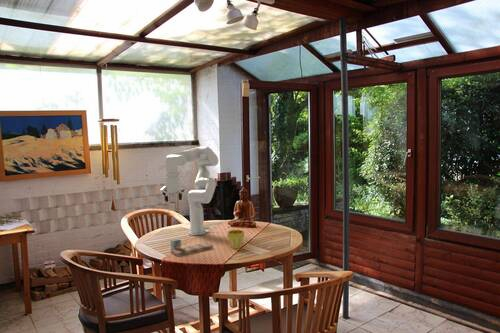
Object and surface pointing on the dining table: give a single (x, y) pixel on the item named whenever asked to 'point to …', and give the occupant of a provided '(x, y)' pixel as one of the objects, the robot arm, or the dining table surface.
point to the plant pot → (236, 238)
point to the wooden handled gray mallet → (177, 244)
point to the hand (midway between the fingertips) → (173, 200)
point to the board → (192, 249)
